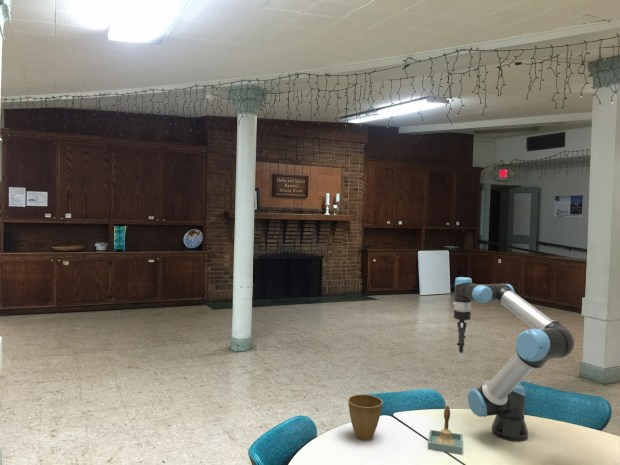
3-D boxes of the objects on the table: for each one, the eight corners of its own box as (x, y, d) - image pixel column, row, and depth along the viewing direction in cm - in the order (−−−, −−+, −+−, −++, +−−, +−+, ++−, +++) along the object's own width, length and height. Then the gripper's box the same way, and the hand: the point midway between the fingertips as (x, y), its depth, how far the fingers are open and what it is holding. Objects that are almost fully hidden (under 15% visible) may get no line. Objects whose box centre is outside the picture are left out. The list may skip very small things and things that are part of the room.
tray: (462, 440, 220) (462, 434, 220) (462, 454, 207) (462, 447, 207) (429, 435, 224) (430, 429, 224) (427, 449, 211) (428, 442, 211)
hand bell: (453, 439, 220) (455, 403, 219) (457, 448, 211) (458, 410, 211) (434, 438, 220) (435, 402, 220) (437, 447, 212) (438, 409, 212)
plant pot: (340, 435, 223) (341, 399, 222) (363, 426, 232) (364, 392, 232) (365, 447, 211) (366, 409, 211) (388, 438, 221) (389, 401, 221)
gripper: (454, 305, 252) (452, 348, 252) (453, 314, 228) (451, 361, 228) (470, 306, 249) (468, 349, 250) (471, 315, 226) (469, 363, 226)
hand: (460, 355), depth 239 cm, fingers open, 13 cm apart
